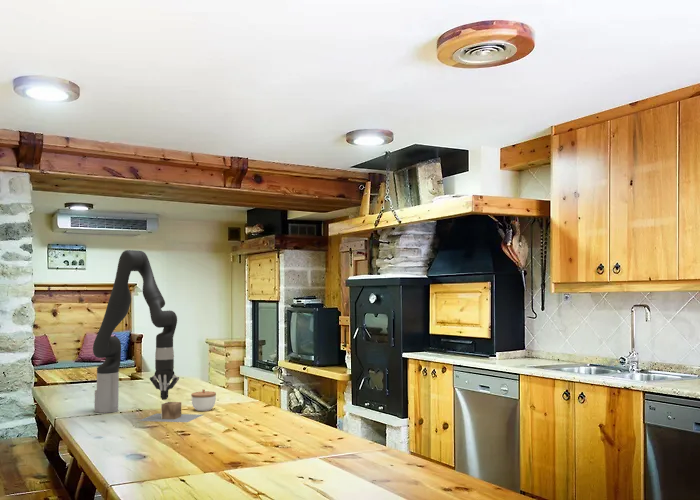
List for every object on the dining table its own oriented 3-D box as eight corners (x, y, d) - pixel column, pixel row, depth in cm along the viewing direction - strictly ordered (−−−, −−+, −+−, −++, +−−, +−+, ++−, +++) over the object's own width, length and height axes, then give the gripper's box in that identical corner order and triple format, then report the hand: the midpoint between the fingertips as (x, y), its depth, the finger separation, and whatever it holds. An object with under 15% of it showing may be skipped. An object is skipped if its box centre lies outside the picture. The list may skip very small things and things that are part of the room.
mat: (137, 421, 269) (137, 420, 269) (156, 414, 285) (156, 413, 285) (187, 423, 265) (187, 422, 265) (203, 415, 281) (203, 414, 281)
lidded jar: (218, 408, 297) (218, 387, 298) (211, 413, 287) (211, 391, 287) (195, 408, 298) (195, 387, 299) (187, 412, 288) (187, 391, 288)
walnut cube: (161, 404, 273) (174, 404, 272) (168, 401, 279) (181, 402, 278) (161, 418, 273) (174, 419, 272) (168, 416, 279) (181, 416, 277)
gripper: (145, 358, 275) (145, 400, 274) (174, 359, 272) (174, 401, 271) (154, 357, 282) (154, 397, 281) (183, 357, 280) (182, 398, 279)
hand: (164, 399), depth 276 cm, fingers closed
